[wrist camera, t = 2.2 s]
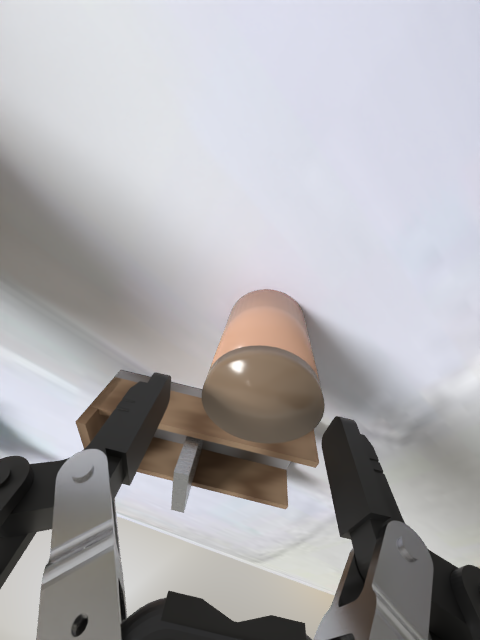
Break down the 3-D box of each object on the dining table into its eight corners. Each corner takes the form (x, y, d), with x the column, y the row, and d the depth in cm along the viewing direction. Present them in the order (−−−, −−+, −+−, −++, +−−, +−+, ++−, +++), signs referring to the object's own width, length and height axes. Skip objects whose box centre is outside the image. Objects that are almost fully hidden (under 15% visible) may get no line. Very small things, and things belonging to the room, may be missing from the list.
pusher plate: (208, 409, 22) (188, 475, 17) (201, 448, 26) (183, 512, 21) (197, 406, 22) (173, 471, 17) (191, 446, 26) (171, 509, 21)
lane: (311, 416, 22) (322, 483, 17) (284, 464, 27) (286, 527, 22) (120, 369, 23) (75, 421, 18) (127, 425, 28) (93, 478, 23)
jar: (315, 299, 16) (346, 377, 9) (291, 360, 19) (300, 453, 12) (236, 281, 16) (208, 345, 9) (224, 344, 19) (196, 428, 13)
